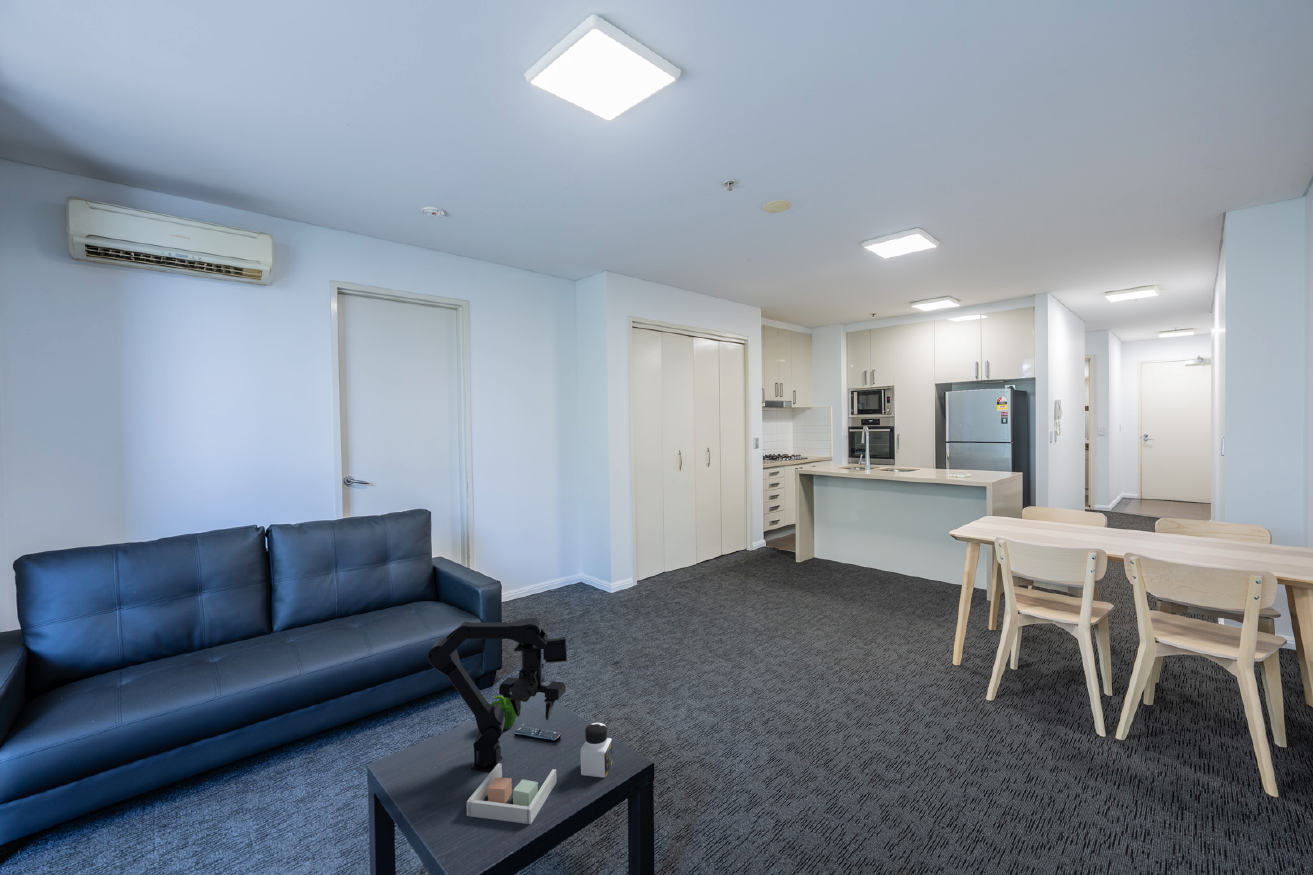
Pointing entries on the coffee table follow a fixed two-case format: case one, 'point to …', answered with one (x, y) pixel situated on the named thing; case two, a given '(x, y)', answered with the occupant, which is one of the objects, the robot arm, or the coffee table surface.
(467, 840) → the coffee table surface
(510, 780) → the salmon pink cube
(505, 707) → the bell pepper
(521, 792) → the pale green cube
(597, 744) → the medicine bottle
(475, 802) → the box
